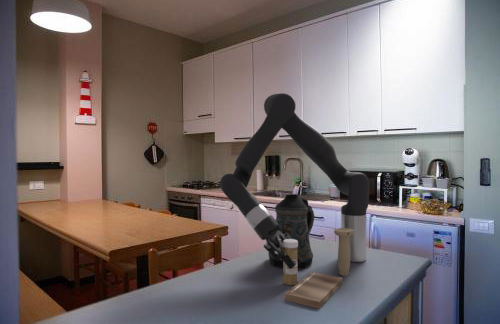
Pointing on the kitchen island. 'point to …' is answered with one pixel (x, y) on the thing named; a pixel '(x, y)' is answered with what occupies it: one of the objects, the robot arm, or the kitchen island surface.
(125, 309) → the kitchen island surface
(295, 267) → the sprinkles bottle
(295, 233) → the beer stein
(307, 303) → the walnut board
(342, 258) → the handle
